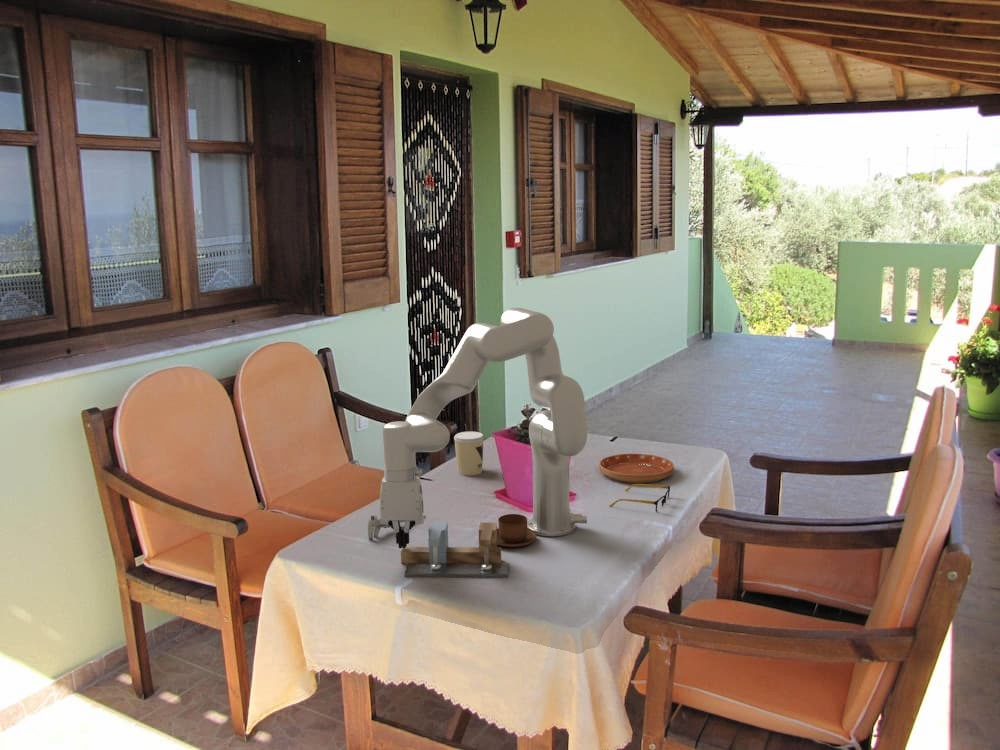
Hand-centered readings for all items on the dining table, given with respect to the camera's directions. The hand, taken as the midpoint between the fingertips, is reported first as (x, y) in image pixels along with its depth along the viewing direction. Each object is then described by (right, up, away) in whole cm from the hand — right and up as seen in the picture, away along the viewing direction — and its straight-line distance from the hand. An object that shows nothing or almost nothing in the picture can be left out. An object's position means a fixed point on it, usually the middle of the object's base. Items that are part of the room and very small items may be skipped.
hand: (402, 546), depth 224 cm
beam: (+12, -4, -3) cm, 13 cm away
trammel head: (+9, -4, -3) cm, 10 cm away
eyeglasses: (+63, +5, +39) cm, 74 cm away
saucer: (+66, +10, +64) cm, 92 cm away
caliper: (-4, 0, +23) cm, 23 cm away
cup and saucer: (+27, -1, +12) cm, 29 cm away
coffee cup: (+14, +11, +69) cm, 71 cm away
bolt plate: (+13, -5, -6) cm, 15 cm away
